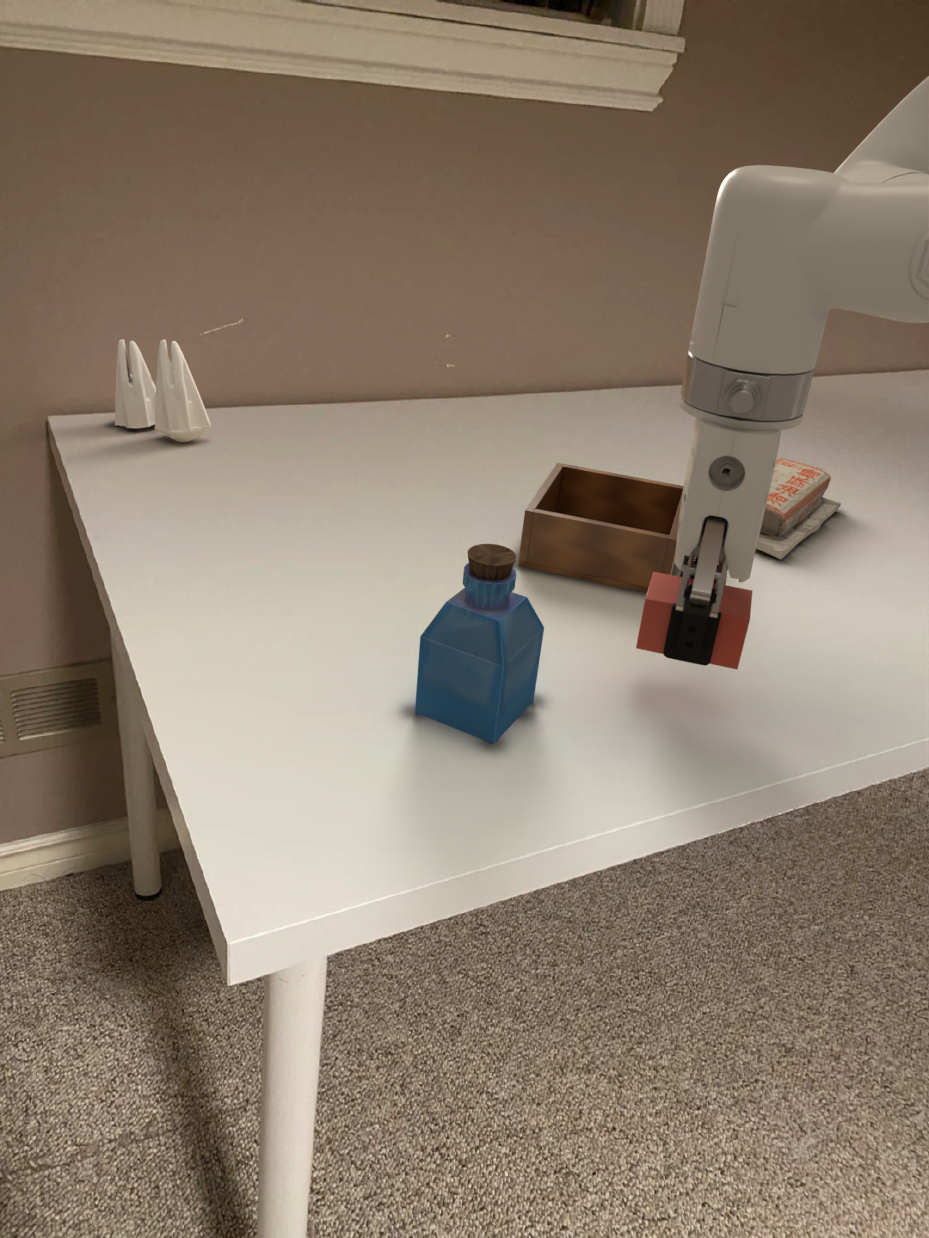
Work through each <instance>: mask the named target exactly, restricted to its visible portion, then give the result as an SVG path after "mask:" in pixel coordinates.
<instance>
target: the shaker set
mask: <svg viewBox="0 0 929 1238" xmlns="http://www.w3.org/2000/svg"><path fill="white" fill-rule="evenodd" d="M125 341H126V340H125V339H123V338H122V339H119V340H118V343H117V347H116V348H117V349H116V364H115V384H114V385H115V386H114V387H115V388H114V389H115V390H114V426H115V427H116V426H120V427H125V428H126V429H143V428H144V429H145V428H149V427H152V426H153V425H154V430H155V431H157V432H159V433H161V434H163V435H164V436H166V437H168V438H169V439H171V440H173V441H174V442H175V441H176V442H178V443H187V442H190V441H193V440H196V439H197V438H199V437H200V436H202V435H204V433H205V432H206V431H208V430H210V428H211V427H212V423H211V421H210V417H209V414H208V413H207V410H206V407H205V404H204V402H203V400H202V397H201V395H200V392H199V390H198V387H197V384H196V382H195V379H194V377H193V375H192V372H191V369H190V367H189V365H188V363H187V359H186V358H185V355H184V353H183V350H182V349H181V347H180V345H179V344H178V342H177V341H175V340H172V341H171V344H170V352H171V353H170V355H171V359H170V356H169V350H168V345H167V340H166V339H161V340H159V345H158V346H159V347H158V352H157V366H156V377H155V378H156V381H155V382H154V379H153V378H152V375H151V373H150V371H149V368H148V366H147V363H146V361H145V358H144V357H143V354H142V352H141V350H140V347H139V346H138V344H137V343H136V342H135V341H134V340H130V341H129V346H128V348H129V349H128V350H129V359H128V354H127V347H126V343H125ZM129 361H130V365H129ZM130 369H131V371H130Z"/></svg>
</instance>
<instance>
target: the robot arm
mask: <svg viewBox="0 0 929 1238" xmlns="http://www.w3.org/2000/svg"><path fill="white" fill-rule="evenodd" d="M716 195H717V196H716V200H715V204H714V209H713V215H712V219H711V226H710V231H709V235H708V236H709V237H708V243H707V248H706V253H705V259H704V264H703V270H702V274H701V275H702V276H701V281H700V286H699V291H698V297H697V303H696V308H695V313H694V319H693V324H692V330H691V334H690V339H689V345H688V351H687V352H688V353H687V355H686V362H685V367H684V373H683V377H682V383H681V389H680V396H679V399H678V406H679V408H681V409H682V411H683V412H685V413H687V414H688V415H690V416H692V417H694V418H695V420H694V426H693V431H692V437H691V441H690V447H689V452H688V453H689V454H688V457H687V458H688V459H687V464H686V469H685V474H684V480H683V485H682V486H683V493H682V500H681V507H680V515H679V523H678V533H677V542H676V553H675V564H674V566H675V567H676V568H677V569H678V570H679V571H680V574H679V577H682V581H681V585H680V590H679V595H678V600H677V604H676V603H673V606H672V611H671V616H670V621H669V626H668V631H667V636H666V641H665V646H664V651H663V654H662V655H663V656H664V657H665V658H667V659H671V660H676V661H680V662H683V663H684V662H685V663H690V664H695V665H700V666H704V667H705V666H708V665H710V664H709V663H710V661H711V657H712V652H713V648H714V644H715V640H716V635H717V631H718V627H719V622H720V618H721V612H718V611H719V607H720V602H721V598H722V593H723V589H724V585H726V583H727V578H728V574H729V577H730V579H736V580H738V583H744V582H746V581H748V580H749V579H750V578H751V574H752V570H753V566H754V565H753V564H754V561H755V556H756V551H757V549H756V547H757V543H758V538H759V534H760V530H761V525H762V521H763V517H764V513H765V508H766V504H767V500H768V496H769V492H770V487H771V483H772V478H773V474H774V469H775V464H776V460H777V458H778V454H779V447H780V442H781V436H782V431H784V430H789V429H792V428H796V427H797V426H800V424H801V423H802V420H803V416H804V412H805V408H806V405H807V400H808V396H809V393H810V389H811V385H812V381H813V377H814V372H815V367H816V365H817V360H818V357H819V353H820V350H821V345H822V341H823V337H824V333H825V329H826V325H827V321H828V316H829V313H830V310H832V309H833V310H834V309H839V310H842V311H843V310H844V311H848V312H854V313H859V314H863V315H868V316H872V317H876V318H881V319H886V320H889V321H894V322H900V323H909V324H927V323H929V75H928V76H927V77H926V78H924V79H923V80H922V81H921V82H920V83H919V84H917V85H916V86H915V87H914V88H913V89H912V90H911V91H910V92H909V93H908V94H906V96H905V97H903V98H902V99H901V101H899V102H898V104H896V106H895V107H894V108H892V109H891V110H890V111H889V113H888V114H887V115H886V116H885V117H884V118H883V119H882V120H881V121H880V122H879V123H878V124H877V125H876V126H875V127H874V128H873V129H872V130H871V132H870V133H868V135H867V136H866V137H865V138H864V139H863V140H862V141H861V142H860V143H859V144H858V146H856V148H855V149H854V150H853V151H852V152H851V153H850V154H849V155H848V156H847V158H846V159H844V161H843V162H841V164H840V165H839V166H838V167H837V168H836V170H835V171H834V172H831V171H826V170H820V169H813V168H804V167H794V166H782V165H768V164H766V165H765V164H753V165H745V166H740V167H738V168H735V169H733V170H732V171H731V172H728V174H727V176H726V177H725V178H724V179H723V180H722V182H721V184H720V186H719V188H718V191H717V194H716ZM690 579H694V581H693V585H692V584H689V581H690ZM713 583H716V586H715V589H713ZM685 600H686V601H685Z"/></svg>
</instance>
